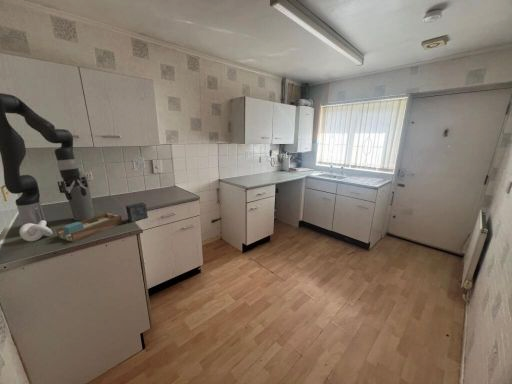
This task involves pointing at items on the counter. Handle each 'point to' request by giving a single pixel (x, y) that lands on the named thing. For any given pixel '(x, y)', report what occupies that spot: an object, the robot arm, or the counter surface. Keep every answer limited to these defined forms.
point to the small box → (136, 212)
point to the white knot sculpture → (34, 231)
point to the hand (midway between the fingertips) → (77, 197)
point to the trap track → (91, 227)
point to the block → (72, 227)
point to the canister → (81, 202)
